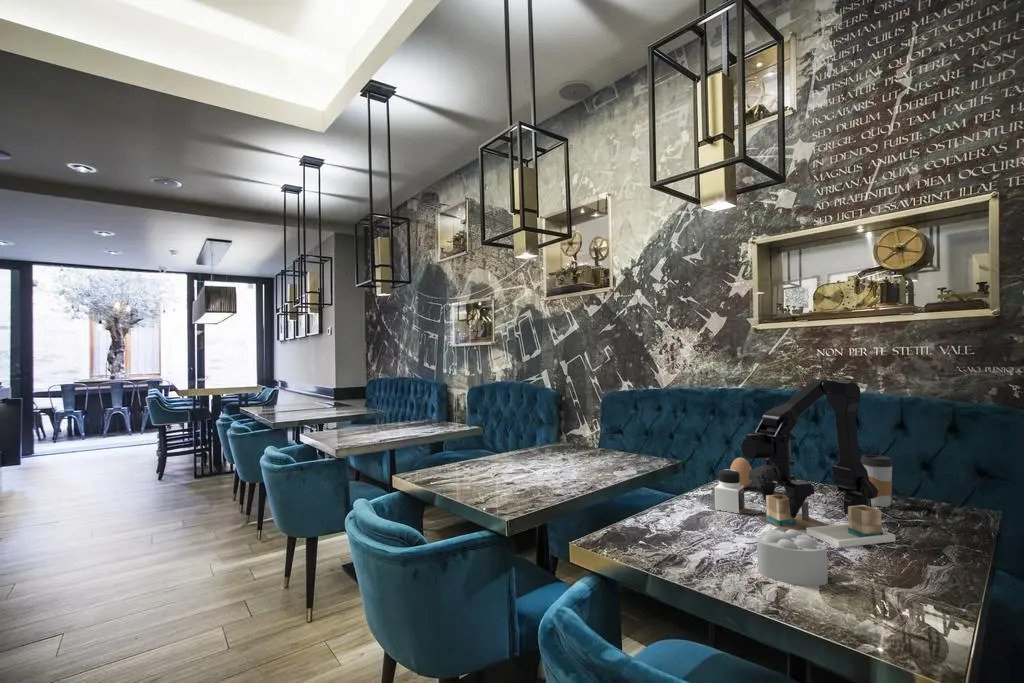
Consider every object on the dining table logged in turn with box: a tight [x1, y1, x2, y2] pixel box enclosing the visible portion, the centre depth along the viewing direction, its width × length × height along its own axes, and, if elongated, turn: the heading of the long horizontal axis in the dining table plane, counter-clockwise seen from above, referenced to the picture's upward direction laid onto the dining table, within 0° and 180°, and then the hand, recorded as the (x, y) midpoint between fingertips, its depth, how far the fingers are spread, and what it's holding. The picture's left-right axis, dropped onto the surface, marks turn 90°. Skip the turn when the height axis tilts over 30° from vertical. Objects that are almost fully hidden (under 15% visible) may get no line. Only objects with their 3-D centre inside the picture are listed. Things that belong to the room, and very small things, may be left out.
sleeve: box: [847, 505, 883, 537], centre depth 128 cm, size 5×5×7 cm
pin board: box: [758, 501, 829, 532], centre depth 139 cm, size 14×10×6 cm
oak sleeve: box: [765, 493, 796, 526], centre depth 138 cm, size 5×5×7 cm
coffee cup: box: [860, 454, 894, 508], centre depth 156 cm, size 8×8×15 cm
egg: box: [729, 457, 753, 489], centre depth 178 cm, size 8×8×11 cm
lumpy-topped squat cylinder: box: [756, 528, 829, 587], centre depth 108 cm, size 10×13×9 cm
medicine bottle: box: [714, 468, 746, 514], centre depth 154 cm, size 7×7×12 cm
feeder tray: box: [805, 522, 897, 549], centre depth 127 cm, size 17×10×2 cm, turn 102°
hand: (780, 512), depth 138 cm, fingers open, 9 cm apart
